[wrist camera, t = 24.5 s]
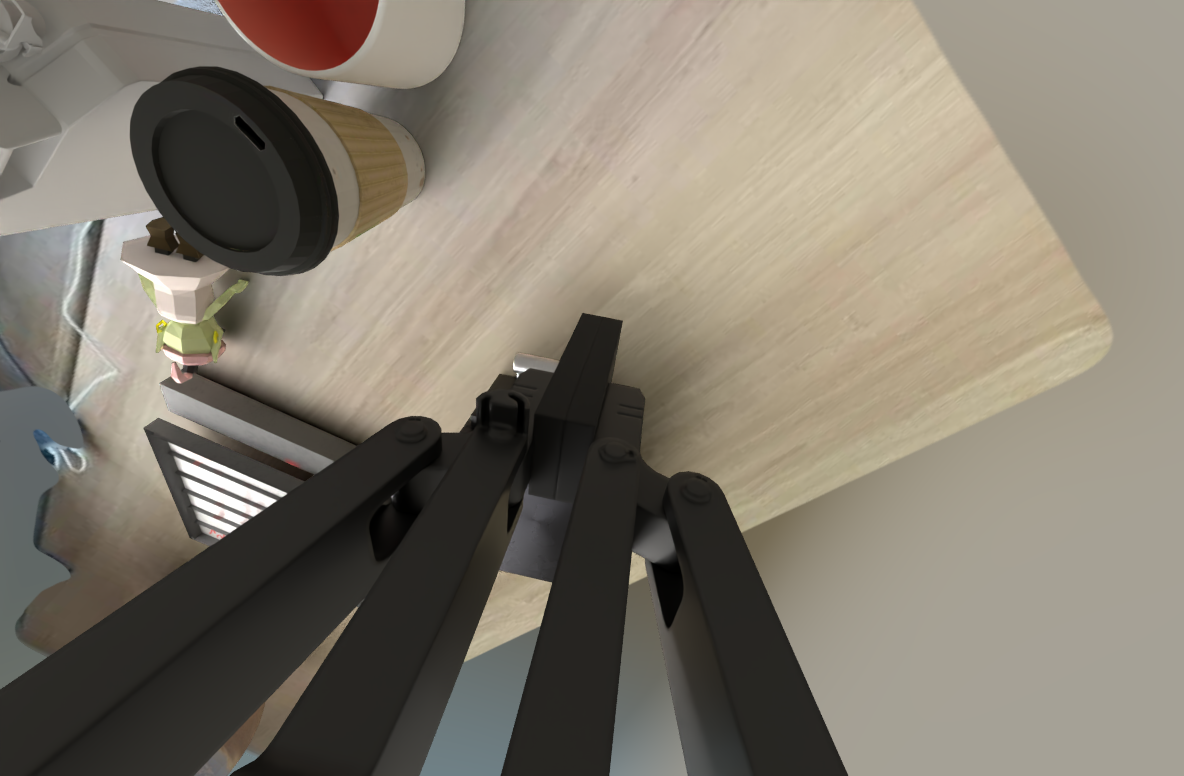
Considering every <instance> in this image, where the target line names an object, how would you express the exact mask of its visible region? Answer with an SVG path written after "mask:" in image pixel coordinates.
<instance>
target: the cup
mask: <svg viewBox="0 0 1184 776" xmlns="http://www.w3.org/2000/svg"><path fill="white" fill-rule="evenodd" d="M214 1H215V3H216V4H217V6H218V7H219V9H220V10H221V12H222V13H223V15H224V16H225V17H226V19H227V20H228V21H229V23H230V24H231V25H232V27H233V28H234V29H235V30H236V31H237V32H238V34H239V35H240V36H241V37H242V38H243V39H244V40H245V41H246V42H247V43H248V44H249V45H250V46H251V47H252V48H253V49H255V50H256V51H257V52H258V53H259V54H261V55H262V56H263V57H265V58H266V59H267V60H269V61H270V62H272V63H273V64H275V65H277V66H279V67H280V68H282V69H284V70H287V71H289V72H291V73H294V74H297V75H300V76H304V77H309V78H317V79H325V80H333V81H341V82H348V83H356V84H364V85H372V86H380V87H388V88H396V89H411V88H416V87H420V86H423V85H425V84H427V83H429V82H431V81H433V80H434V79H436V78H437V77H438V76H439V75H440V74H441V73H442V72H443V71H444V70H445V69H446V68H447V66H448V65H449V64H450V62H451V61H452V59H453V57H454V55H455V54H456V51H457V49H458V46H459V43H460V40H461V37H462V32H463V27H464V18H465V0H214Z"/></svg>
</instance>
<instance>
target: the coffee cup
mask: <svg viewBox="0 0 1184 776" xmlns="http://www.w3.org/2000/svg"><path fill="white" fill-rule="evenodd" d="M130 144H131V150H132V156H133V159H134V162H135V166H136V169H137V172H138V175H139V177H140V179H141V181H142V183H143V185H144V187H145V190H146V192H147V193H148V195H149V197H150V198H151V200H152V201H153V203H154V205H155V206H156V208H157V209H158V211H159V212H160V213H161V215H162V216H163V217H164V218H165V220H166V221H167V222H168V223H169V225H170V226H171V227H172V228H173V229H174V230H175V231H176V232H177V233H178V234H179V235H180V236H181V237H182V238H183V239H184V240H185V241H186V242H188V243H189V244H190V245H191V246H192V247H194V248H195V249H196V250H197V251H199V252H200V253H202V254H203V255H205V256H207V257H208V258H210V259H211V260H213V261H215V262H217V263H219V264H221V265H224V266H226V267H228V268H231V269H235V270H239V271H242V272H254V273H260V274H263V275H274V276H286V275H294V274H300V273H304V272H306V271H309V270H311V269H313V268H315V267H316V266H318V265H319V264H320V263H321V262H322V261H323V260H325V258H326V257H327V255H328V254H329V252H330V251H333V250H335V249H337V248H339V247H342V246H343V245H345V244H347V243H348V242H350V241H351V240H353V239H355V238H356V237H358V236H360V235H361V234H363V233H365V232H366V231H368V230H370V229H371V228H373V227H375V226H376V225H378V224H379V223H381V222H383V221H384V220H386V219H388V218H389V217H391V216H392V215H394V214H395V213H396V212H397V211H398V210H399V209H400V208H402V207H403V206H405V205H407V204H408V203H410V202H412V201H413V200H414V199H415V198H417V196H418V195H419V194H420V192H421V190H422V188H423V185H424V181H425V164H424V159H423V156H422V153H421V150H420V148H419V146H418V144H417V142H416V141H415V139H414V138H413V137H412V135H411V134H410V133H409V132H408V131H407V130H406V129H405V128H404V127H403V126H402V125H400V124H399V123H398V122H396V121H394V120H392V119H389V118H386V117H382V116H378V115H374V114H369V113H367V112H365V111H363V110H361V109H358V108H354V107H350V106H346V105H342V104H339V103H335V102H331V101H327V100H323V99H319V98H315V97H312V96H308V95H304V94H300V93H296V92H292V91H288V90H285V89H281V88H277V87H273V86H263V85H262V84H260V83H259V82H257V81H255V80H253V79H251V78H249V77H247V76H245V75H243V74H241V73H239V72H237V71H233V70H229V69H225V68H222V67H218V66H199V67H194V68H187V69H184V70H181V71H178V72H174V73H172V74H171V75H170V76H168V77H167V78H166V79H164V80H163V81H161V82H160V83H159V84H156V85H153V86H152V87H151V88H149V89H148V90H147V91H145V92H144V93H142V95H141V96H140V98H139V99H138V101H137V102H136V104H135V105H134V109H133V112H132V116H131V119H130Z"/></svg>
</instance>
